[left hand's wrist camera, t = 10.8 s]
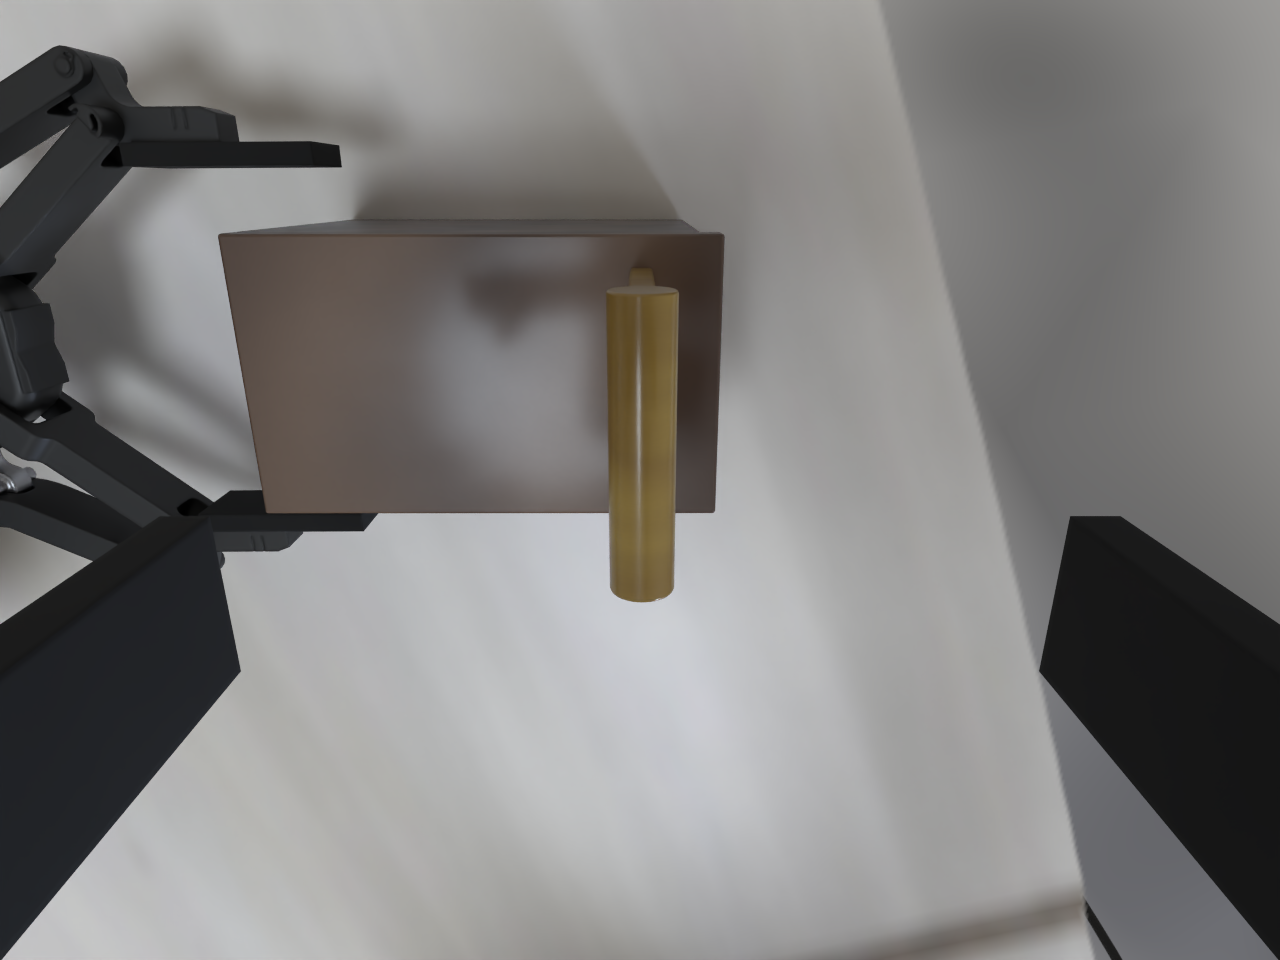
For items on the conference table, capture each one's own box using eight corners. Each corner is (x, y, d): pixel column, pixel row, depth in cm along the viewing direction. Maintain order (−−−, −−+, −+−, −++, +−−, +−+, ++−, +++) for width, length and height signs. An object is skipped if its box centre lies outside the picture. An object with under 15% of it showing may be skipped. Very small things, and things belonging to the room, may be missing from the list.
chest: (682, 219, 36) (701, 231, 25) (679, 418, 39) (694, 502, 28) (351, 219, 36) (233, 232, 25) (375, 418, 39) (278, 502, 28)
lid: (721, 232, 25) (763, 253, 17) (712, 502, 28) (743, 633, 20) (232, 232, 25) (30, 252, 17) (278, 502, 28) (127, 634, 20)
